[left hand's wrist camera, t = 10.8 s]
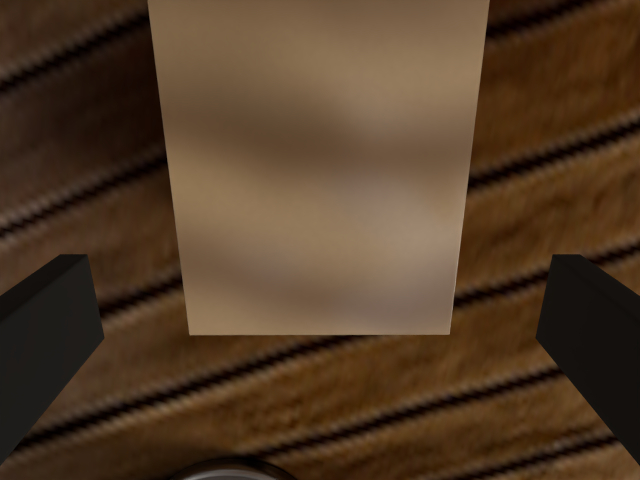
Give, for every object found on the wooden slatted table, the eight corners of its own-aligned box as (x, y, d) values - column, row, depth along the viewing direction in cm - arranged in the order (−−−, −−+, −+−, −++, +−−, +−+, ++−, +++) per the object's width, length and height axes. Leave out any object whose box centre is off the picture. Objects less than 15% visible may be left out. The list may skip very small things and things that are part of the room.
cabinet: (216, -46, 25) (128, -148, 13) (421, -47, 25) (508, -149, 13) (237, 239, 31) (189, 335, 19) (402, 239, 31) (449, 334, 19)
